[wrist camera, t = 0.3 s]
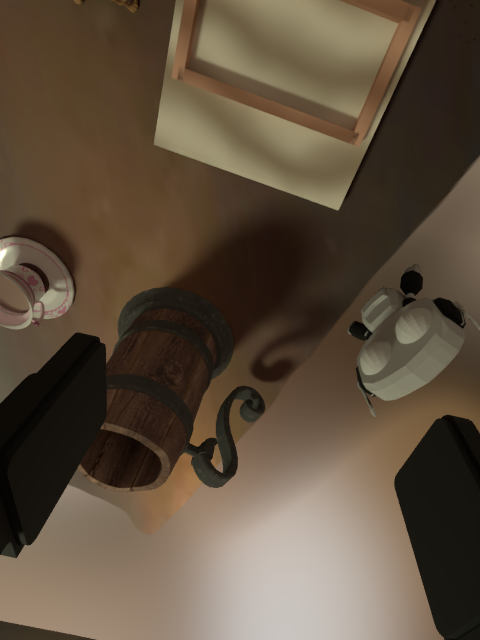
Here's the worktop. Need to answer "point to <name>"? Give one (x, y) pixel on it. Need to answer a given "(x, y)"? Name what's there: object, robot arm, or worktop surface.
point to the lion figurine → (130, 3)
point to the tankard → (165, 393)
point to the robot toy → (406, 339)
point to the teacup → (31, 284)
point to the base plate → (284, 86)
